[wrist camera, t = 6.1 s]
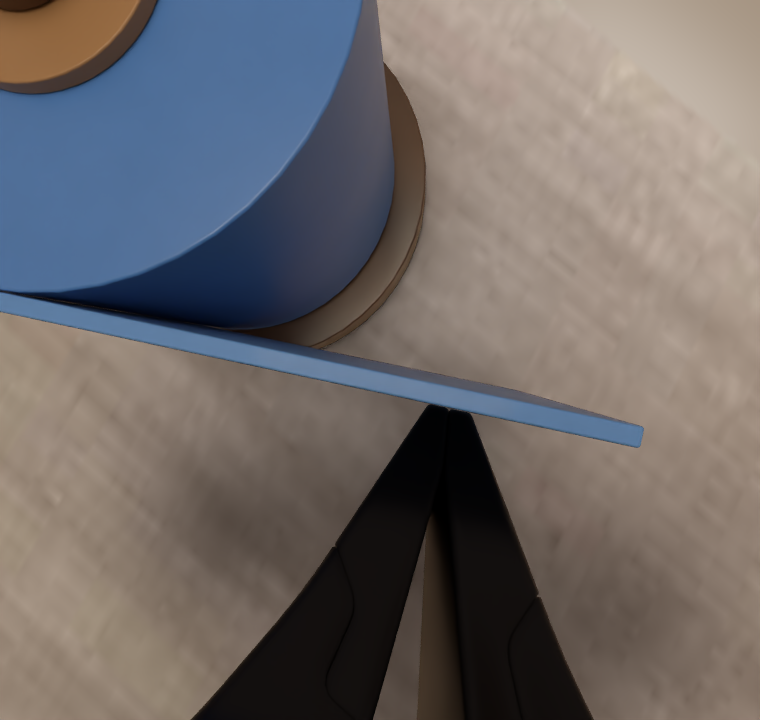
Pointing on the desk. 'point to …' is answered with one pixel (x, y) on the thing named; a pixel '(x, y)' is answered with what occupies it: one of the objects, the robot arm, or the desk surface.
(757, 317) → the desk surface
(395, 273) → the holder
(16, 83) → the towel roll
